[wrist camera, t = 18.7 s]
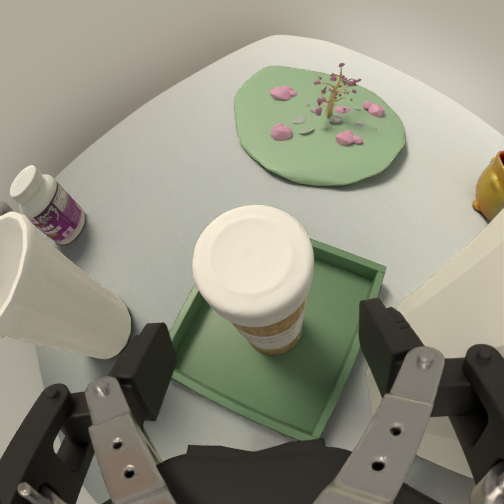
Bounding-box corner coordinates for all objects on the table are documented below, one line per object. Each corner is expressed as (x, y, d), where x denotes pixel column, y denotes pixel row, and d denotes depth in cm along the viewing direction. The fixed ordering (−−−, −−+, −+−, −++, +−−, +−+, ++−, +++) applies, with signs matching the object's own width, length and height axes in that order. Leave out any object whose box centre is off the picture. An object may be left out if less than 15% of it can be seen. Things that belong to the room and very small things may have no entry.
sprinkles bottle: (252, 294, 24) (209, 194, 12) (308, 305, 23) (322, 208, 11) (238, 349, 22) (172, 300, 10) (296, 362, 21) (302, 328, 9)
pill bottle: (52, 251, 30) (0, 210, 22) (56, 216, 33) (11, 172, 24) (85, 238, 30) (33, 189, 22) (88, 202, 33) (44, 152, 24)
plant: (188, 111, 37) (169, 57, 29) (297, 57, 41) (294, 10, 33) (326, 224, 27) (335, 156, 19) (432, 133, 31) (451, 78, 22)
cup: (101, 274, 28) (4, 196, 15) (157, 312, 25) (49, 235, 13) (63, 339, 25) (-48, 290, 12) (115, 386, 23) (-15, 362, 10)
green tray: (312, 439, 19) (315, 446, 17) (165, 368, 23) (151, 365, 21) (378, 279, 24) (386, 266, 21) (240, 228, 28) (235, 212, 25)
